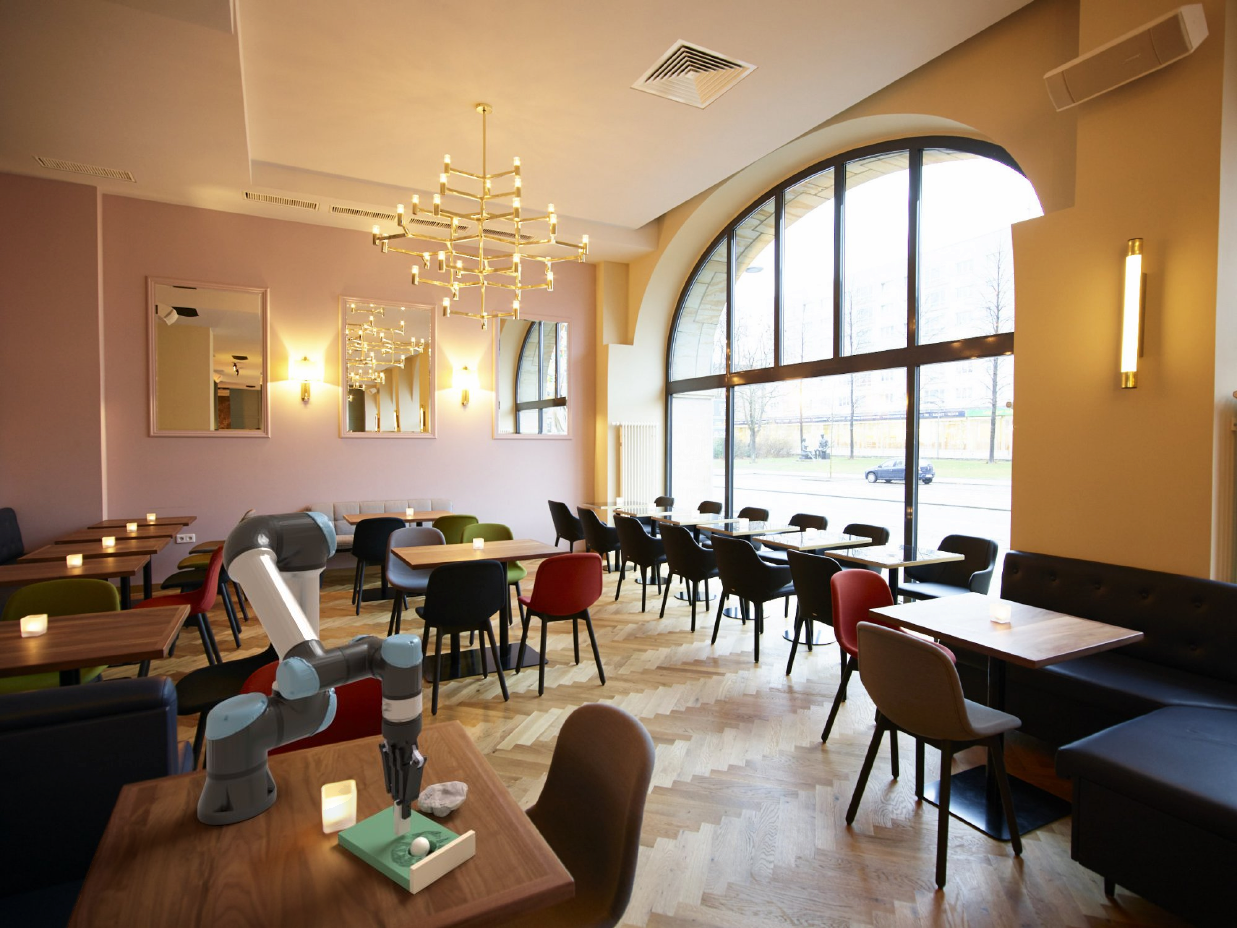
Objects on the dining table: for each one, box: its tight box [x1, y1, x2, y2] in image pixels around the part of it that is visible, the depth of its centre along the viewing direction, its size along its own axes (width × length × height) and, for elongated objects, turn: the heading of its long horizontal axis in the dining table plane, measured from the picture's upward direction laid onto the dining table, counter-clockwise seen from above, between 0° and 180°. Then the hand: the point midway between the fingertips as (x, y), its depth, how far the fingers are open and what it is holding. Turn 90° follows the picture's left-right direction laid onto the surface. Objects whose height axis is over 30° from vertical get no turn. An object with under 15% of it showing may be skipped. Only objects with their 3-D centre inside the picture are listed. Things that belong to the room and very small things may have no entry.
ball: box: [410, 837, 430, 858], centre depth 122 cm, size 4×4×4 cm
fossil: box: [417, 780, 469, 818], centre depth 139 cm, size 9×6×10 cm
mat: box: [337, 804, 476, 895], centre depth 125 cm, size 25×14×4 cm, turn 53°
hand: (402, 831), depth 126 cm, fingers closed
